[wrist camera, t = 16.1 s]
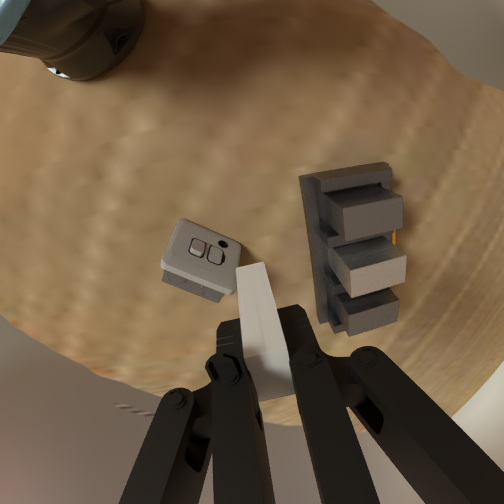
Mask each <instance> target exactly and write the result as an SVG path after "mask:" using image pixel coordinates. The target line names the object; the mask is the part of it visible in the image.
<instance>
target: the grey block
mask: <svg viewBox="0 0 504 504" xmlns="http://www.w3.org/2000/svg"><path fill="white" fill-rule="evenodd" d="M328 257H329V265H330V267H331V268H332V270H333V271H334V273H335V274H336V276H337V277H338V279H339V280H340V282H341V283H342V285H343V286H344V288H345V289H346V291H347V292H348V294H349V295H350V297H351V298H353V297H357V296H360V295H364V294H367V293H370V292H374V291H377V290H380V289H384V288H387V287H390V286H393V285H397V284H400V283H403V282H405V275H406V258H407V255H406V254H405V253H404V252H402V251H401V250H400V249H399V248H398V247H396V246H395V245H394V244H393V243H392V242H390V241H389V240H388V239H387V238H386V237H384V236H379V237H375V238H371V239H367V240H363V241H358V242H354V243H350V244H346V245H342V246H337V247H333V248H329V249H328Z"/></svg>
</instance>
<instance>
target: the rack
mask: <svg viewBox="0 0 504 504" xmlns="http://www.w3.org/2000/svg"><path fill="white" fill-rule="evenodd" d="M391 180H392V169H390V168H389V164H388V163H385V162H380V163H373V164H366V165H360V166H353V167H347V168H341V169H335V170H329V171H323V172H318V173H312V174H307V175H301V176H299V181H300V187H301V193H302V200H303V206H304V213H305V220H306V226H307V234H308V241H309V248H310V256H311V264H312V272H313V281H314V289H315V299H316V308H317V318H318V320H319V323H320V324H321V323H325V322H329V323H330V325H331V328H332V330H333V332H334V334H335V333H339V332H342V331H346V332H347V334H348V336H349V337H350V336H353V335H357V334H360V333H363V332H366V331H369V330H373V329H376V328H379V327H382V326H385V325H388V324H391V323H394V322H396V321H397V318H398V310H399V299H398V298H397V296H396V295H395V294H394V293H393V292H392V291H391V290H390V289H391V286H390V287H387V288H384V289H380V290H377V291H374V292H370V293H367V294H364V295H360V296H357V297H353V298H351V297H350V295H349V294H348V292H347V291H346V289H345V288H344V286H343V285H342V283H341V282H340V280H339V279H338V277H337V276H336V274H335V273H334V271H333V270H332V268H331V267H330V265H329V257H328V249H329V248H333V247H337V246H342V245H346V244H350V243H354V242H358V241H363V240H367V239H371V238H375V237H379V236H384V237H386V238H387V239H388V240H389V241H390V242H392V243H393V244H394V245H395V243H396V229H400V228H403V197H402V196H400V195H398V194H396V193H394V192H392V191H391V187H390V181H391Z"/></svg>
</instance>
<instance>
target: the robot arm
mask: <svg viewBox="0 0 504 504" xmlns="http://www.w3.org/2000/svg"><path fill="white" fill-rule="evenodd" d="M143 25H144V9H143V6H142V3H141V1H140V0H0V52H5V53H12V54H18V55H23V56H29V57H34V58H39V59H40V60H41V61H42V62H43V63H44V64H45V66H46V67H47V68H48V69H49V70H50V71H51V72H52V73H54V74H55V75H57V76H59V77H61V78H65V79H70V80H75V81H82V80H89V79H93V78H96V77H98V76H101V75H103V74H105V73H106V72H108V71H110V70H111V69H113V68H114V67H115V66H117V65H118V64H119V63H120V62H121V61H122V60H123V59H124V58H125V57H126V56H127V55H128V54H129V53H130V52H131V50H132V49H133V47H134V46H135V44H136V43H137V41H138V39H139V37H140V35H141V32H142V29H143ZM236 278H237V290H238V301H239V312H240V318H238V319H234V320H229V321H224V322H221V323H220V325H219V327H218V329H217V340H216V345H217V347H216V354H214V355H213V356H211V357H210V358H209V359H208V360H207V362H206V365H205V369H206V371H207V373H208V375H209V377H210V379H211V382H210V383H209V384H208V385H206V386H205V387H203V388H200V389H198V390H196V391H193V392H191V391H190V390H188V389H186V388H175V389H173V390H170V391H169V392H167V393H166V394H165V395H164V396H163V398H162V400H161V401H160V404H159V406H158V408H157V411H156V413H155V415H154V418H153V421H152V423H151V425H150V428H149V430H148V432H147V435H146V437H145V439H144V442H143V444H142V447H141V449H140V452H139V454H138V457H137V459H136V461H135V464H134V467H133V469H132V471H131V474H130V476H129V479H128V481H127V484H126V486H125V489H124V492H123V494H122V496H121V499H120V502H119V504H198V503H199V499H200V495H201V492H202V488H203V484H204V480H205V477H206V473H207V469H208V466H209V462H210V458H211V454H212V455H213V489H214V504H275V498H274V492H273V485H272V479H271V472H270V466H269V459H268V453H267V446H266V440H265V433H264V427H263V419H262V413H261V410H260V407H259V402H260V401H265V400H270V399H274V398H279V397H284V396H288V395H292V394H296V398H297V404H298V409H299V414H300V416H301V420H302V424H303V428H304V432H305V437H306V440H307V445H308V448H309V453H310V457H311V461H312V465H313V470H314V474H315V478H316V482H317V486H318V490H319V495H320V499H321V503H322V504H380V502H379V499H378V496H377V493H376V490H375V487H374V484H373V481H372V478H371V475H370V472H369V469H368V467H367V464H366V461H365V458H364V455H363V453H362V450H361V447H360V444H359V441H358V439H357V436H356V433H355V430H354V428H353V425H352V422H351V420H350V417H349V414H348V412H347V409H346V407H350V409H351V410H352V411H353V413H354V414H355V415H356V417H357V418H358V419H359V420H360V422H361V423H362V424H363V426H364V427H365V428H366V429H367V431H368V432H369V433H370V435H371V436H372V437H373V438H374V440H375V441H376V442H377V444H378V445H379V446H380V447H381V448H382V450H383V451H384V452H385V454H386V455H387V456H388V457H389V459H390V460H391V461H392V463H393V464H394V465H395V466H396V468H397V469H398V470H399V471H400V473H401V474H402V475H403V476H404V478H405V479H406V480H407V481H408V483H409V484H410V485H411V486H412V488H413V489H414V490H415V491H416V493H417V494H418V495H419V496H420V498H421V499H422V500H423V501H424V503H425V504H504V472H503V471H502V470H501V469H500V468H499V467H498V466H497V465H496V464H495V462H494V461H493V460H491V458H490V457H489V456H488V455H487V454H486V453H485V452H484V451H483V450H482V449H481V448H480V447H479V446H478V445H477V444H476V443H475V442H474V441H473V440H472V439H471V438H470V437H469V436H468V435H467V434H466V433H465V432H464V431H463V430H462V429H461V428H460V427H459V426H458V425H457V424H456V423H455V422H454V421H453V420H452V419H451V418H450V417H449V416H448V415H447V414H446V413H445V412H444V411H443V410H442V409H441V408H440V407H439V406H438V405H437V404H436V403H435V402H434V401H433V400H432V399H431V398H430V397H429V396H428V395H427V394H426V393H425V392H424V391H423V390H422V389H421V388H420V387H419V386H418V385H417V384H416V383H415V382H414V381H413V380H412V379H411V378H410V377H409V376H407V375H406V374H405V373H404V372H403V371H402V370H401V369H400V368H399V367H398V366H397V365H396V364H395V363H394V362H393V361H392V360H391V359H390V358H389V357H388V356H387V355H386V354H385V353H384V352H383V351H381V350H380V349H378V348H376V347H372V346H363V347H361V348H358V349H356V350H355V351H353V352H352V354H351V355H350V357H333V356H329V355H327V354H325V353H324V352H323V351H322V350H321V349H320V347H319V344H318V342H317V339H316V337H315V334H314V332H313V329H312V327H311V325H310V322H309V319H308V317H307V314H306V312H305V310H304V309H303V308H302V307H301V306H299V305H298V304H296V305H292V306H288V307H283V308H279V309H276V305H275V301H274V298H273V294H272V290H271V287H270V283H269V279H268V276H267V272H266V269H265V265H264V261H263V262H259V263H255V264H250V265H246V266H242V267H237V268H236ZM258 399H259V402H258Z"/></svg>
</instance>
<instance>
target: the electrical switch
mask: <svg viewBox="0 0 504 504" xmlns="http://www.w3.org/2000/svg"><path fill="white" fill-rule="evenodd" d="M240 253H241V245H240V244H239V243H238V242H236V241H234V240H231V239H229V238H227V237H224V236H222V235H220V234H217V233H215V232H213V231H211V230H208V229H206V228H204V227H201V226H199V225H197V224H194V223H192V222H190V221H187V220H185V219H180V220H179V221H178V223H177V225H176V227H175V230H174V232H173V235H172V237H171V239H170V242H169V244H168V247H167V249H166V252H165V254H164V256H163V258H162V260H161V268H163V269H165V270H164V273H163V275H164V276H162V281H163V282H165V283H168V284H170V285H173V286H175V287H178V288H180V289H183V290H185V291H188V292H190V293H193V294H196V295H198V296H201V297H203V298H206V299H208V300H211V301H214V302H216V303H218V302H219V301H220V299H221V298H222V297H223V296H224V295H225V294H227V295H229V296H230V295H232V294H234V292H235V290H236V287H237V278H236V268H237V267H239V261H240ZM187 281H188V282H187ZM183 282H184V283H183ZM202 285H203V286H202ZM201 286H202V288H201ZM210 297H212V298H210Z"/></svg>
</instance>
